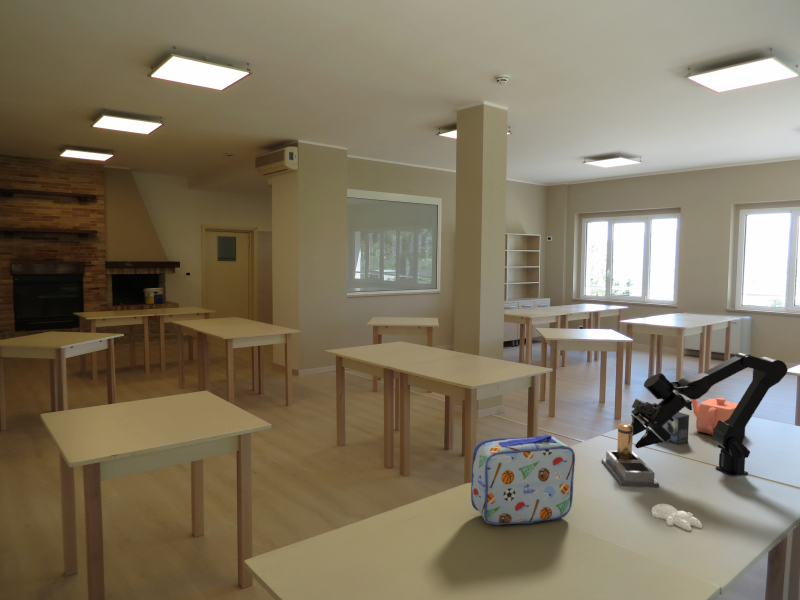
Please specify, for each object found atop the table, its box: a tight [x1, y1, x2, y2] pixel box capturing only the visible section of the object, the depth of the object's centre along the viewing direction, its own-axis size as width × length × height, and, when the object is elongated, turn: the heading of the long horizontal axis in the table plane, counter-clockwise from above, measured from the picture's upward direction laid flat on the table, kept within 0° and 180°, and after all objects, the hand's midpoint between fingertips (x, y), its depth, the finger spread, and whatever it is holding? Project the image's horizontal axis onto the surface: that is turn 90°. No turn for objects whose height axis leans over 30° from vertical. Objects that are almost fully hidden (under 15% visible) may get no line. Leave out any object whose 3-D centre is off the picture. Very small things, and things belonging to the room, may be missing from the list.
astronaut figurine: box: [651, 503, 703, 531], centre depth 136 cm, size 9×12×3 cm
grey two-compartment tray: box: [601, 450, 660, 488], centre depth 165 cm, size 19×11×4 cm, turn 176°
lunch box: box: [470, 434, 576, 525], centre depth 136 cm, size 28×10×22 cm, turn 105°
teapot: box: [689, 397, 739, 435], centre depth 206 cm, size 20×19×14 cm
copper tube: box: [616, 422, 634, 460], centre depth 169 cm, size 5×5×13 cm
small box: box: [663, 411, 690, 445], centre depth 196 cm, size 11×6×10 cm, turn 25°
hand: (630, 442), depth 168 cm, fingers open, 9 cm apart
